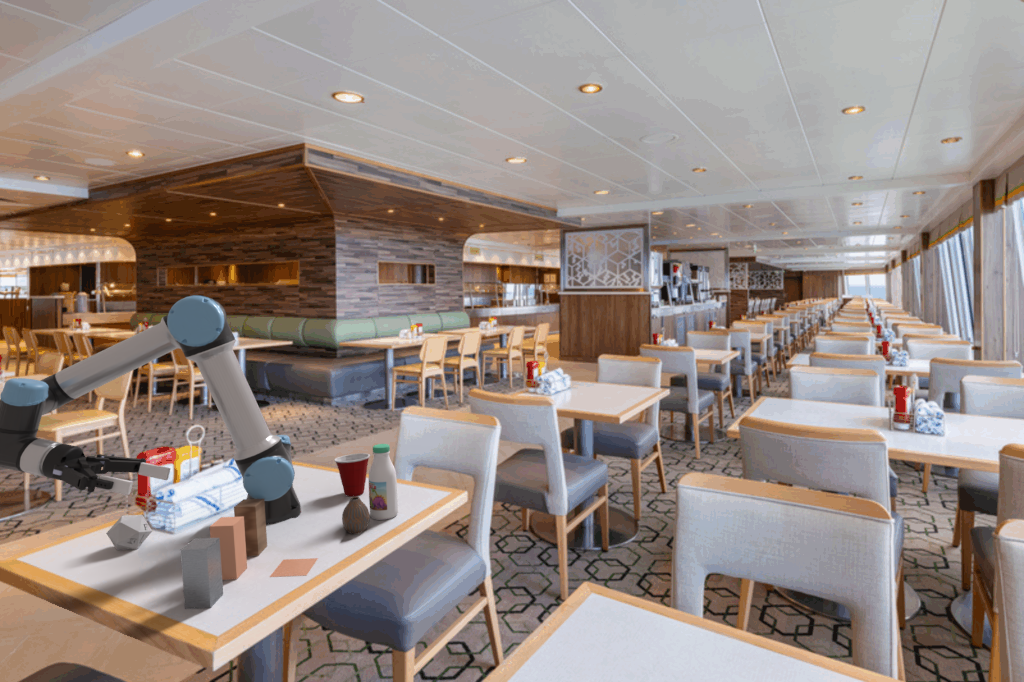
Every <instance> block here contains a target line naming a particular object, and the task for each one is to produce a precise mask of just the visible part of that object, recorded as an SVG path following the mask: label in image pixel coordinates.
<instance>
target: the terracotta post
mask: <svg viewBox="0 0 1024 682" xmlns="http://www.w3.org/2000/svg"><path fill="white" fill-rule="evenodd" d="M209 536H210V537H209V538H219V540H220V554H221V569H222V581H226V580H227V581H228V580H238V578H240V577H241V576H242V575H243V573H245V571H246V570H247V569H248V561H247V560H248V559H247V557H248V556H246V542H245V527H244V516H242V517H234V516H223V517H222V516H221V517H220V518H218V519H217V520H216V521H215V522H213V523H212V524H211V525H209Z"/></svg>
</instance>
